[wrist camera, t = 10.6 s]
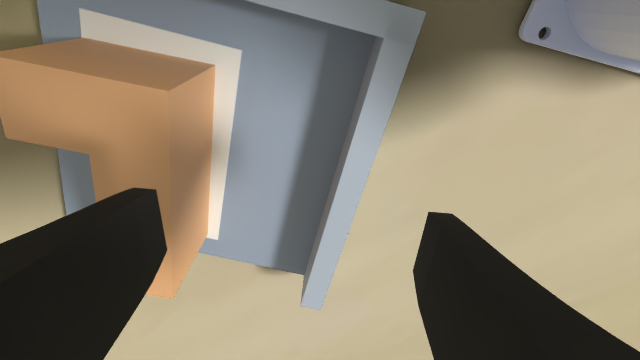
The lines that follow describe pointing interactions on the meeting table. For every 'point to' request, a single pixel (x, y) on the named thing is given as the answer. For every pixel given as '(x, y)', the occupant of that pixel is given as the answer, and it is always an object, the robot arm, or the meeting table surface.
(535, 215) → the meeting table surface
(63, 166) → the board
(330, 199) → the walls
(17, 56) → the bracket
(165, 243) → the robot arm
